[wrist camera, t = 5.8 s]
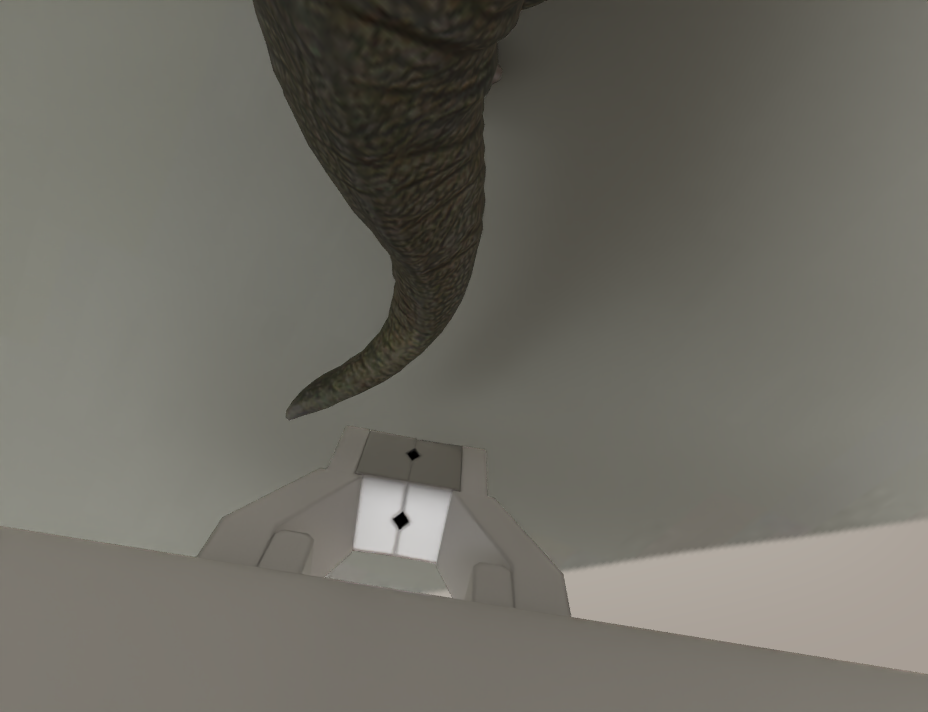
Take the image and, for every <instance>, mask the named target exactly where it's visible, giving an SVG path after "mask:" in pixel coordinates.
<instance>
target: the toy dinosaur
mask: <svg viewBox="0 0 928 712" xmlns="http://www.w3.org/2000/svg"><path fill="white" fill-rule="evenodd" d="M545 1H547V0H253V4H254V8H255V12H256V15H257V18H258V21H259V24H260V27H261V30H262V33H263V36H264V39H265V41H266V44H267V48H268V52H269V56H270V60H271V64H272V68H273V71H274V73H275V75H276V77H277V79H278V81H279V83H280V85H281V87H282V89H283V93H284V96H285V98H286V100H287V102H288V104H289V106H290V108H291V110H292V112H293V114H294V117H295V119H296V121H297V123H298V125H299V127H300V129H301V131H302V133H303V135H304V137H305V139H306V141H307V143H308V145H309V147H310V148H311V150H312V151H313V153H314V154H315V156H316V157H317V159H318V160H319V162H320V164H321V165H322V167H323V168H324V170H325V171H326V173H327V174H328V176H329V177H330V178H331V180H332V181H333V183H334V184H335V186H336V187H337V188H338V190H339V191H340V193H341V194H342V196H343V197H344V199H345V200H346V202H347V203H348V205H349V206H350V207H351V209H352V210H353V212H354V213H355V214H356V215H357V216H358V217H359V218H360V219H361V220H362V221H363V222H364V224H365V225H366V226H367V227H368V228H369V229H370V230H371V231H372V232H373V234H374V235H375V236H376V238H377V239H378V241H379V242H380V243H381V245H382V246H383V247H384V248H385V249H386V251H387V252H388V253H389V255H390V258H391V261H392V271H393V276H394V279H395V281H396V282H395V286H394V294H393V298H392V302H391V306H390V311H389V315H388V318H387V320H386V322H385V323H384V325H383V327H382V329H381V331H380V332H379V333H378V334H377V336H376V337H375V338H374V339H373V340H372V341H371V342H370V343H369V344H368V346H367V347H366V348H365V349H364V350H363V351H362V352H360V353H358V354H357V355H355V356H353V357H352V358H350V359H349V360H348V361H346V362H345V363H344V364H342V365H341V366H339V367H337V368H335V369H333V370H331V371H329V372H327V373H325V374H323V375H322V376H320V377H319V378H317V379H316V380H314V381H313V382H312V383H311V384H309V385H308V386H307V387H306V388H305V389H303V390H302V391H301V392H300V393H299V395H298V396H297V397H296V398H295V399H294V400H293V401H292V403H291V404H290V406H289V407H288V409H287V410H286V417H285V418H287V419H288V420H292V419H295V418H298V417H301V416H304V415H307V414H310V413H314V412H317V411H320V410H323V409H326V408H329V407H331V406H333V405H335V404H337V403H339V402H341V401H343V400H346V399H348V398H351V397H353V396H355V395H358V394H360V393H362V392H364V391H366V390H368V389H370V388H372V387H374V386H376V385H378V384H380V383H382V382H384V381H385V380H387V379H389V378H390V377H392V376H393V375H395V374H396V373H398V372H399V371H401V370H402V369H403V368H404V367H405V366H406V365H407V364H408V363H410V362H411V361H412V360H414V359H415V358H416V357H418V356H419V355H420V354H421V353H423V352H424V350H425V349H426V348H427V347H428V346H429V345H430V344H431V343H432V342H433V341H434V340H435V339H436V338H437V337H438V336H439V335H440V334H441V333H442V331H443V330H444V328H445V327H446V326H447V324H448V323H449V321H450V320H451V318H452V317H453V315H454V313H455V312H456V310H457V308H458V306H459V305H460V303H461V301H462V299H463V296H464V294H465V291H466V288H467V286H468V283H469V280H470V278H471V274H472V270H473V266H474V261H475V257H476V253H477V249H478V246H479V242H480V238H481V234H482V230H483V221H482V218H483V213H484V206H485V193H484V181H485V171H486V166H485V161H484V152H485V146H484V139H483V130H484V125H485V124H484V119H483V114H482V113H483V110H484V97H485V96H486V94H487V93H488V91H489V90H490V87H491V84H494V83H495V82H497V81H499V80H500V78H501V76H502V69H501V67H500V66H499V65H498V45H497V42H498V41H499V40H501V39H502V38H504V37H506V36H507V35H508V34H509V33H510V32H511V30H512V29H513V28H514V27H515V26H516V24H517V21H518V18H519V15H520V12H521V10H524V9H527V8H530V7H533V6H535V5H538V4H540V3H542V2H545Z"/></svg>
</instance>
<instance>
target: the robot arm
mask: <svg viewBox="0 0 928 712" xmlns="http://www.w3.org/2000/svg"><path fill="white" fill-rule="evenodd" d="M352 551H360V552H367V553H375V554H382V555H390V556H396V557H401V558H407V559H412V560H417V561H422V562H428V563H433V564H436V567H437V569H438V571H439V573H440V575H441V577H442V579H443V581H444V583H445V585H446V587H447V588H448V590H449V592H450V594H451V596H452V598H447V597H442V596H436V595H429V594H423V593H417V592H411V591H404V590H398V589H392V588H386V587H379V586H373V585H367V584H361V583H354V582H348V581H342V580H335V579H329V578H324V577H325V576H326V575H327V574H329V573H330V572H331V571H332V570H333V569H334V568H335V567H336V566H338V565H339V564H340V563H341V562H342V561H343V560H344V559H345V558H347V557H348V556H349V555H350V554H351V553H352ZM395 551H396V552H395ZM0 712H928V674H924V673H917V672H911V671H905V670H899V669H892V668H886V667H880V666H874V665H868V664H860V663H855V662H848V661H842V660H836V659H829V658H824V657H817V656H811V655H804V654H799V653H792V652H786V651H780V650H774V649H767V648H761V647H755V646H748V645H742V644H736V643H730V642H723V641H717V640H711V639H705V638H699V637H692V636H686V635H680V634H674V633H668V632H661V631H655V630H649V629H642V628H636V627H629V626H624V625H617V624H611V623H605V622H599V621H592V620H586V619H580V618H574V617H571V613H570V608H569V602H568V598H567V592H566V586H565V581H564V575H563V573H562V572H561V571H560V570H559V569H558V568H557V567H556V565H555V564H554V563H553V562H552V561H551V560H550V559H549V558H548V557H547V555H546V554H545V553H544V552H543V551H542V550H541V549H540V548H539V547H538V546H537V544H536V543H535V542H534V541H533V540H532V539H531V538H530V537H529V536H528V534H527V533H526V532H525V531H524V530H523V529H522V528H521V527H520V526H519V525H518V523H517V522H516V521H515V520H514V519H513V518H512V517H511V516H510V515H509V513H508V512H507V511H506V510H505V509H504V508H503V507H502V506H501V505H500V504H499V502H498V501H497V500H496V499H495V498H493V497H488V489H487V456H486V450H485V449H480V448H473V447H466V446H458V445H451V444H444V443H438V442H431V441H424V440H418V439H416V438H411V437H406V436H401V435H396V434H391V433H386V432H381V431H376V430H371V431H370V429H366V428H360V427H354V426H347V427H345V428H344V431H343V433H342V435H341V438H340V440H339V442H338V444H337V447H336V449H335V451H334V454H333V456H332V458H331V460H330V463H329V465H328V467H327V469H323V468H319V469H317V470H315V471H313V472H311V473H309V474H307V475H305V476H303V477H301V478H299V479H297V480H295V481H293V482H291V483H289V484H287V485H285V486H283V487H281V488H279V489H277V490H275V491H273V492H271V493H270V494H268V495H266V496H264V497H262V498H260V499H258V500H256V501H254V502H252V503H250V504H248V505H246V506H244V507H242V508H240V509H238V510H236V511H234V512H232V513H230V514H228V515H226V516H224V517H222V519H221V520H220V522H219V523H218V525H217V526H216V528H215V529H214V531H213V532H212V534H211V535H210V537H209V538H208V540H207V542H206V543H205V545H204V546H203V548H202V549H201V551H200V552H199V554H198V555H197V557H192V556H185V555H179V554H173V553H167V552H160V551H154V550H148V549H141V548H135V547H129V546H123V545H116V544H110V543H104V542H98V541H91V540H85V539H79V538H73V537H66V536H60V535H54V534H48V533H41V532H35V531H29V530H23V529H16V528H10V527H4V526H0Z"/></svg>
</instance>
